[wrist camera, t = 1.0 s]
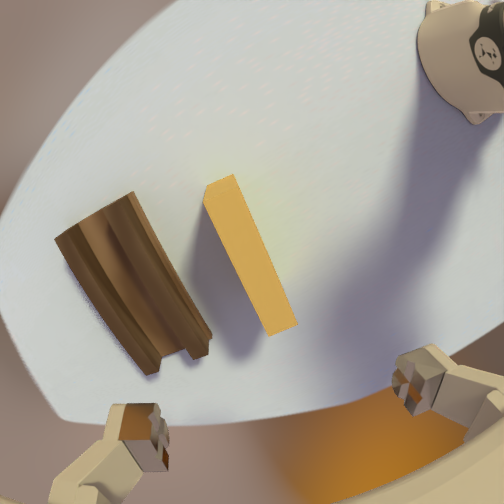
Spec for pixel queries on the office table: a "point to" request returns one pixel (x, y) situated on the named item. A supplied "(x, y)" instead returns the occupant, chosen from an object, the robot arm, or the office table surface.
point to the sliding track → (134, 284)
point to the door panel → (248, 254)
